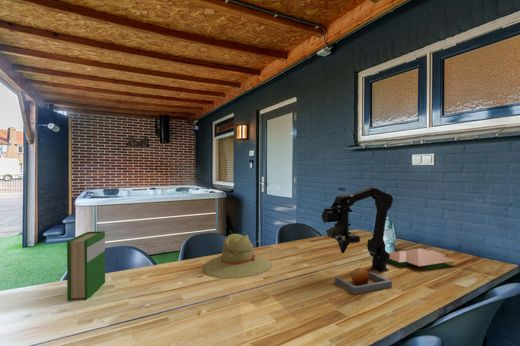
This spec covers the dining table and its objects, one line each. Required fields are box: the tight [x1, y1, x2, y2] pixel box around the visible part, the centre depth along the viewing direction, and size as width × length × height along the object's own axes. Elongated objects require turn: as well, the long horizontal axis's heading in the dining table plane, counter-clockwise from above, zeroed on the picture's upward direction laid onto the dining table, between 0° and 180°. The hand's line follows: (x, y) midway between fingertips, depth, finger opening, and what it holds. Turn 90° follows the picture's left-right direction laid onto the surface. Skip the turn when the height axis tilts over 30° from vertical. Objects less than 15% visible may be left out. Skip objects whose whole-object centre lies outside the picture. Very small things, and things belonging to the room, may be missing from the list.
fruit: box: [350, 267, 371, 286], centre depth 128 cm, size 8×8×8 cm
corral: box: [334, 271, 393, 295], centre depth 127 cm, size 20×14×2 cm
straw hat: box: [201, 233, 273, 280], centre depth 154 cm, size 38×40×17 cm
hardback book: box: [66, 230, 106, 302], centre depth 122 cm, size 18×7×24 cm, turn 8°
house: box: [387, 247, 456, 270], centre depth 158 cm, size 23×33×8 cm
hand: (342, 252), depth 140 cm, fingers closed
